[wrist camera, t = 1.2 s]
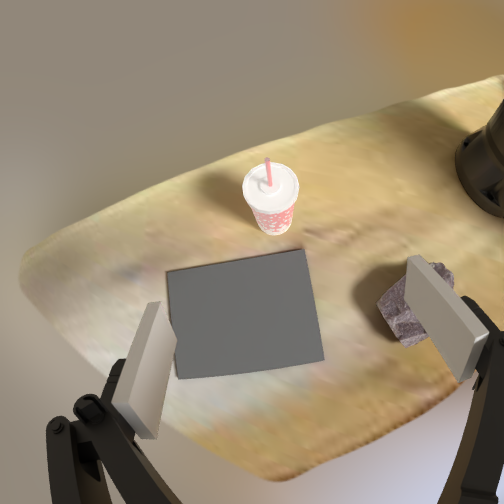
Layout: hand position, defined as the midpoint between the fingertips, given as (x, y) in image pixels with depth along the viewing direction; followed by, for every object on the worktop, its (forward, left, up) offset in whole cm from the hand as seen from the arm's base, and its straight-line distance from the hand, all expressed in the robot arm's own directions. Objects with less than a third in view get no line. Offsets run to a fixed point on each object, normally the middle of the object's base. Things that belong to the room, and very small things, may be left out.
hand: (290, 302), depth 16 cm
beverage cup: (-1, -14, -23) cm, 27 cm away
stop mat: (+5, -2, -23) cm, 23 cm away
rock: (-16, 0, -23) cm, 28 cm away
